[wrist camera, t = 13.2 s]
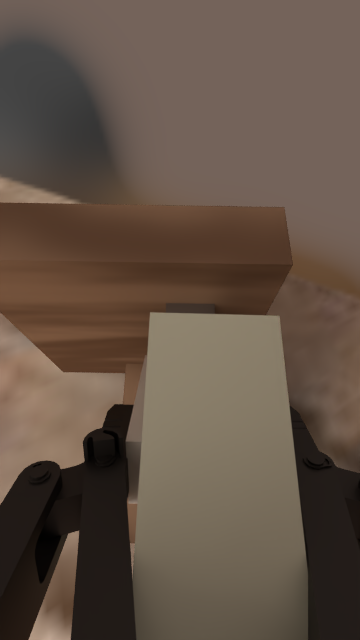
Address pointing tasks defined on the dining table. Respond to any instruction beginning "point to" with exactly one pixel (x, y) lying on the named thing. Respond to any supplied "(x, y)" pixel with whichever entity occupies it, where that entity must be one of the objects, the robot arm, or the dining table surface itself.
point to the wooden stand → (132, 276)
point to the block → (218, 485)
